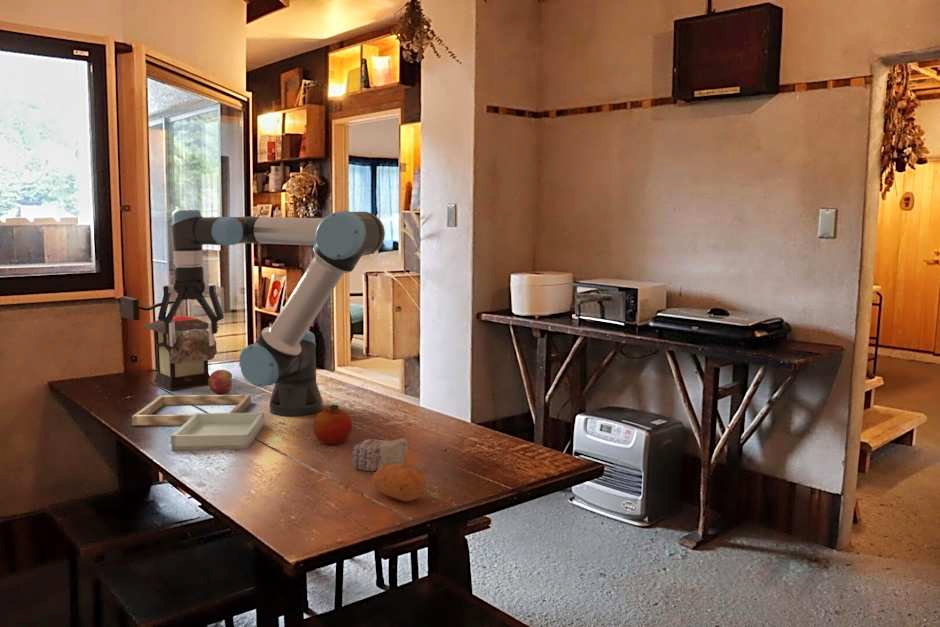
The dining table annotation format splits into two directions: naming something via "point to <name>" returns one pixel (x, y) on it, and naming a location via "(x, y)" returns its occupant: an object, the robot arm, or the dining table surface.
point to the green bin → (218, 431)
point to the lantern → (167, 372)
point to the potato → (399, 482)
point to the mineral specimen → (379, 453)
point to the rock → (192, 347)
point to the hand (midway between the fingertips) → (192, 345)
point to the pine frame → (147, 419)
